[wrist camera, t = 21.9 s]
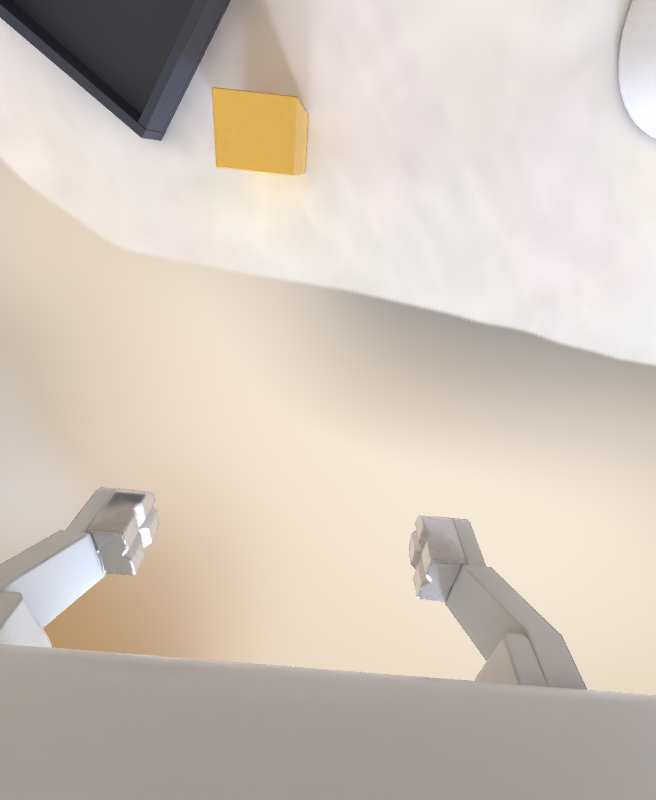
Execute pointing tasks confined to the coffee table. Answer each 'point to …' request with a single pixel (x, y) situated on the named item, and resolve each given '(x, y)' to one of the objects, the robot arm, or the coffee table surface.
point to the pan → (123, 50)
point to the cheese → (259, 132)
